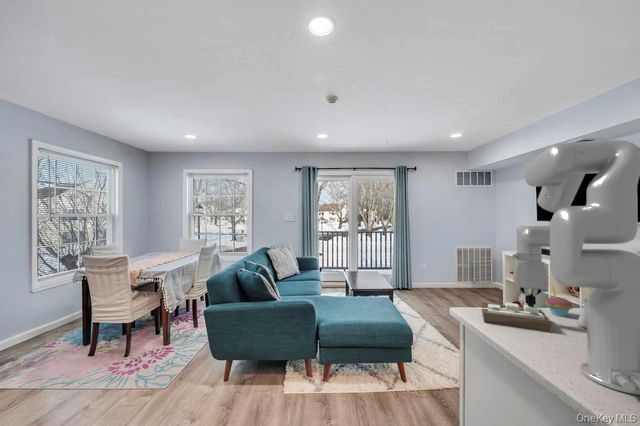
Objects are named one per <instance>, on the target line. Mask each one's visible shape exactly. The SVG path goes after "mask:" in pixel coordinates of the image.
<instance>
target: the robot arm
mask: <svg viewBox="0 0 640 426" xmlns="http://www.w3.org/2000/svg"><path fill="white" fill-rule="evenodd" d="M586 174H596V175H595V176H594V177H593V179H592V180H591V181H590V182H589V184H588V186H587V188H586V204H585V205H572V203H573V201H574V199H575V197H576V195H577V192H578V191H579V188H580V186H581V184H582V182H583V180H584V177H585V175H586ZM524 180H525V182H526V184H527V185H528V186H530V187H541V189H540V192H539V195H538V197H537V204H538V206H539V207H541V208H542V209H543V210H545V211H548V212H550V213H553V215H552V218H551V219H550V223H549V225H521V226H520V225H519V226H517V228H516V231H515V232H516V253H514V254H513V253H512V258H514V259H516V260H514V264H513V265H514V266H513V277H512V279H513V286H512V288H513V289H514V290H517V291H520V292H522V293H523V294H524V300H525V301H524V302H525V304H526V305H528V306H532V307H534V306H535V305H537V303H536V302H537V300H536V297H537V296H538V295H540V294H541V293H547V292H549V289H548V288H549V281H548V280H549V279H548V272H547V271H548V270H547V266H546V263H545V262H544V261H542V260H543V257H542V256H543V255H542V248H543V247H544V248H549V260H550V262H549V263H550V265H549V267H550V271H551V276H552V277H553V279H554V280H555V281H556V283H559V284H560V285H562V286H566V287H570V288H572V287H573V288H591V289H592V291H591V292H590V294H589V295H588V297H587V298H586V299H587V303H586V314H587V328H586V331H587V332H586V335H587V337H586V338H587V355H588V356H587V357H588V359H587V360H588V361H587V362H586V361H585V362H583V363H581V364H580V366H579V368H580V372H581V373H582V375H584V376H585V377H586V378H588V379H590V380H592V381H593V382H595V383H596V384H599V385H602V386H603V387H607V388H610V389H612V390H615V391H618V392H623V393H626V394H631V395H636V396H637V395H638V396H640V256H639V255H638V254H636V253H635V252H631V251H628V250H624V249H613V248H612V249H611V248H584V247H583V246H584V245H615V244H616V245H619V244H626V243H630V242H631V241H633V240H634V239H635V237H636V236H637V233H638V222H639V221H638V214H639V213H638V209H639V207H638V184H639V180H640V148H639V147H638V146H637V144H635V143H633V142H630V141H626V140H618V139H617V140H616V139H615V140H614V139H613V140H612V139H611V140H610V139H608V140H606V139H605V140H589V141H580V142H579V141H578V142H564V143H563V142H561V143H557V144H553V145H550V146H549V147H547V148H545V150H544V151H542V152H541V153H540V154H537V156H535V157H534V159H532V160H531V162H529V164H528V166H526V170H525V173H524ZM529 289H531V293H529Z"/></svg>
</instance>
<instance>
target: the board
mask: <svg viewBox="0 0 640 426" xmlns="http://www.w3.org/2000/svg"><path fill="white" fill-rule="evenodd" d="M488 304H490V303H487V302H481V314H482V320H483V323H484V324H491V325H498V326H504V327H511V328H516V329H517V328H519V329H525V330H532V331H538V332H545V333H552V323H551V322H552V321H551V319H550V318H549V317H548V316H547V315H546V314H545V313H544V311H542V309H539V308H538V309H539V313H535V312H526V311H524V306H522V307H521V306H519V311H518V310H510V309H502V308H505V304H504V305H503V304H497V303H496V304H495V303H492V304H493V305H499V306H500V308H494V307H488ZM482 308H488V309H482Z"/></svg>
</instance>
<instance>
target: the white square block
mask: <svg viewBox="0 0 640 426" xmlns="http://www.w3.org/2000/svg"><path fill="white" fill-rule="evenodd" d="M493 304H494V303H489V304H488V307H494V308H500V306H499V305H500V304H497V305H493Z"/></svg>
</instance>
